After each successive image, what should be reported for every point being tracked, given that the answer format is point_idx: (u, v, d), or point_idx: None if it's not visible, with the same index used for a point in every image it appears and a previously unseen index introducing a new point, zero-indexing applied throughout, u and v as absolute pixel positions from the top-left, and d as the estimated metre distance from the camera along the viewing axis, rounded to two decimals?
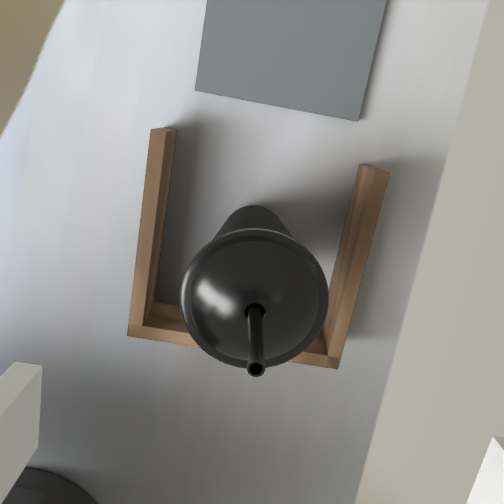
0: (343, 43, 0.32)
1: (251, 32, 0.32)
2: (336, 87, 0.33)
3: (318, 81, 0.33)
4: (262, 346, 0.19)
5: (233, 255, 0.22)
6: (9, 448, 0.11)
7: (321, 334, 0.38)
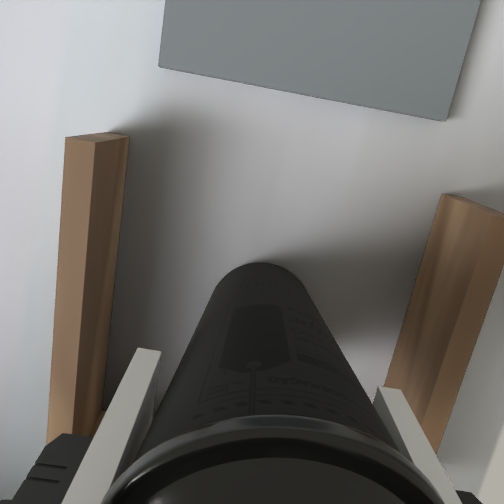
0: None
1: None
2: (409, 60, 0.18)
3: (378, 50, 0.18)
4: None
5: (215, 503, 0.08)
6: (144, 421, 0.13)
7: None
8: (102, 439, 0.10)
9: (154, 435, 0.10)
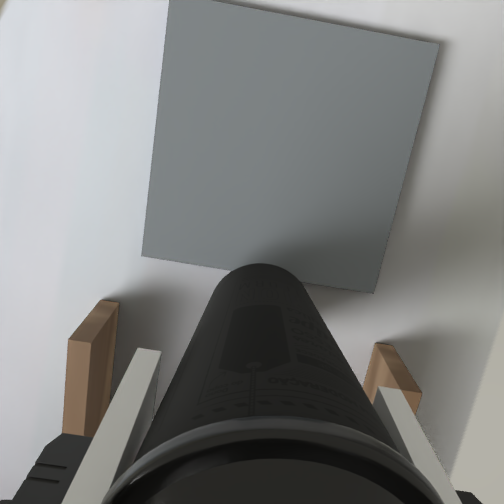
0: (352, 193, 0.22)
1: (220, 180, 0.22)
2: (342, 250, 0.23)
3: (317, 243, 0.23)
4: None
5: None
6: (144, 421, 0.13)
7: None
8: (102, 439, 0.10)
9: (154, 436, 0.10)
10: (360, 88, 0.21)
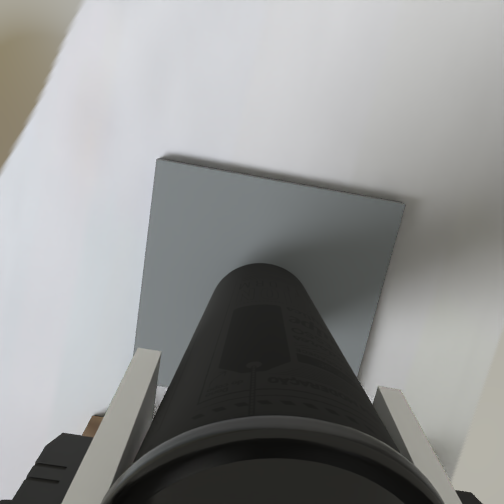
0: None
1: None
2: None
3: None
4: None
5: (215, 503, 0.08)
6: (144, 421, 0.13)
7: None
8: (102, 439, 0.10)
9: (154, 435, 0.10)
10: (332, 241, 0.22)
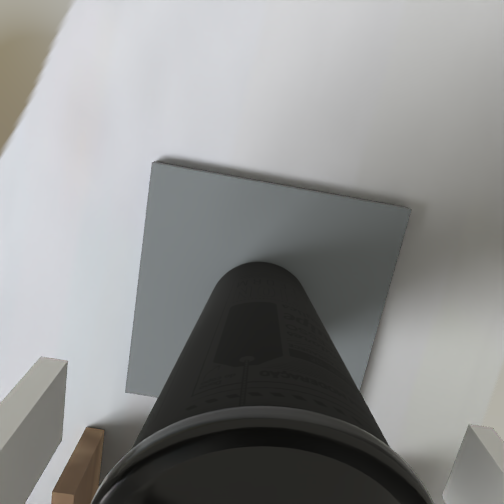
0: None
1: None
2: None
3: None
4: None
5: (206, 489, 0.08)
6: (38, 440, 0.12)
7: None
8: None
9: (150, 426, 0.10)
10: (335, 247, 0.22)
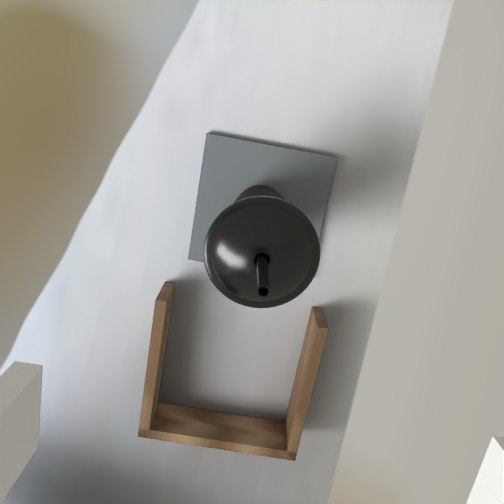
0: None
1: None
2: None
3: None
4: (268, 278, 0.25)
5: (245, 216, 0.29)
6: (9, 448, 0.11)
7: (285, 428, 0.49)
8: None
9: None
10: (299, 177, 0.42)
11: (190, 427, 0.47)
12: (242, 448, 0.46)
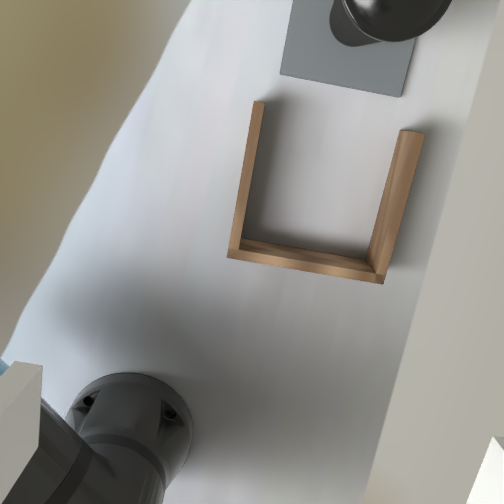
0: None
1: (323, 31, 0.43)
2: (384, 71, 0.44)
3: (371, 67, 0.44)
4: None
5: None
6: (9, 448, 0.11)
7: (368, 262, 0.49)
8: None
9: None
10: None
11: (277, 252, 0.47)
12: (331, 270, 0.46)
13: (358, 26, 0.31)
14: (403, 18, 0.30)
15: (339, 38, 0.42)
